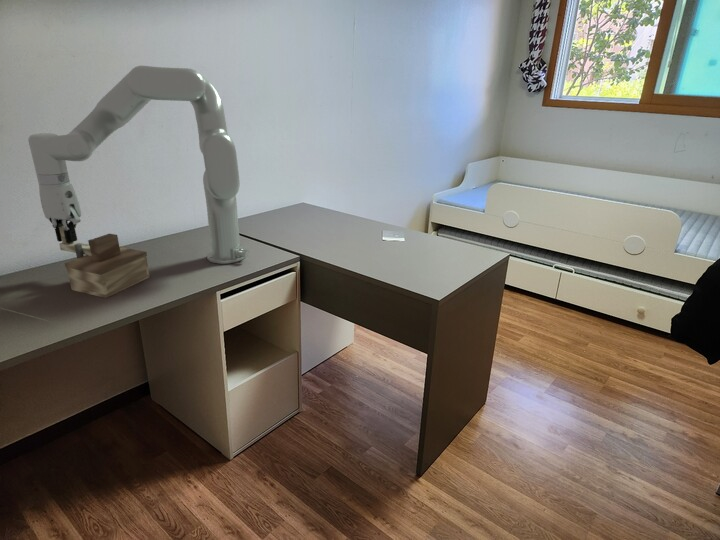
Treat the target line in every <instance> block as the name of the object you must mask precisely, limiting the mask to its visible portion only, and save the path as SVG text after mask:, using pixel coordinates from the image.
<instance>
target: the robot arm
mask: <svg viewBox="0 0 720 540" xmlns="http://www.w3.org/2000/svg"><path fill="white" fill-rule="evenodd" d="M220 96H221V95H220V94H219V93H218V91H217V89H216V88H215V87H214V85H213V84H212V83H211V82H210V80H208V79H207V78H205V77H204V76H203V75H201V73H200V72H198V71H197V70H195V69H193V68H188V67H187V68H185V67H183V68H182V67H166V66H165V67H161V66H152V65H151V66H150V65H138V66H135V67H133V68H131V70H130V71H129V72H127V74H126V75H124V77H122V79H121V80H120V81H119V82H117V84H116V85H114V86H113V87H112V88H111V89H110V90H109V91H107V93H106V94H105V95H104V96H102V97H101V99H100V100H99V101H98V102H97V103H96V105H95V107H94V108H93V109H92V110H91V112H90V113H88V114H87V116H86V117H85V118H84V119H83V120H82V121H80V122H79V123H78V124H77V125H76V126H75V127H74V128H73V129H72V130H71V131H70V132H69V133H67V134H61V135H59V134H56V133H51V132H49V133H47V132H45V133H44V132H43V133H35V134H34V133H33V134H29V136H28V145H29V149H30V154H31V158H32V161H33V167H34V170H35V174H36V179H37V182H38V189H39V191H38V193H39V198H40V205H41V208H42V212H43V215H44V217H45V219H47V220H48V221H49V222H50V223H51V224H52V228H53V229H54V231H55V232H54V233H55V236H56V240H57V242H58V243H59V242H61V243H62V239H61V234H60V230H59V227H61V226H64V228H65V230H64V234H65V239H66V243H71V242H77V241H78V236H77V232H76V227H77V225H78V224H79V223H81V221H82V220H81V219H80V217H81V216H82V211H81V207H80V204H79V203H80V202H79V200H78V196H77V194H76V190H75V189H74V186H73V184H72V183H71V182H70V181H71V180H70V176H69V171H68V168H67V161H68V162H84V161H87V160H88V159H90V157H92V155H93V154H94V153H93V152H94V151H95V150H96V149H97V148H98V147H99V146H100V145H101V144H103V142H105V141H106V140H107V139H108V138H109V137H110V136H111V135H112V134H113V133H115V131H117V130H119V129H120V128H122V127H125V125H127V124H128V123H129V122H130V121H131V120H132V119H133V118H134V117H135V116H136V115H137V114H139V113H140V111H141V110H142V109H143V108H144V107H146V105H147V104H148V103H150V102H151V101H152V100H154V101H155V100H156V101H174V102H175V101H179V102H185V101H186V102H190V104H191V105H192V107H193V110H194V115H195V120H196V125H197V133H198V143H199V145H198V146H199V149H200V152H201V154H202V156H203V162H204V163H203V164H204V168H205V171H204V172H203V177H202V182H203V183H202V184H203V189H204V196H205V203H206V204H205V205H206V212H207V223H208V233H209V241H210V242H209V244H210V252H208V253H207V255H206V258H207V260H208V261H209V263H210V262H211V263H214V264H219V265H220V264H223V265H224V264H233V263H238V262H240V261H242V260H244V259H245V258H248V257H249V253H250V250H249V249H246V248H245V249H244V247H243V246H244V245H243V244H241V242H240V229H239V227H240V226H239V218H238V205H237V204H238V203H237V196H236V195H237V194H238V192H239V190H240V175H239V165H238V157H237V149H236V146H235V143H234V141H233V139H232V137H230V136H229V134H228V133H229V132H228V128H227V121H226V117H225V116H226V115H225V111H224V106H223V102H222V99H221V97H220Z"/></svg>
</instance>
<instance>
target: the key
mask: <svg viewBox="0 0 720 540" xmlns="http://www.w3.org/2000/svg"><path fill="white" fill-rule="evenodd" d="M59 230H60V234H61V239H62V241H61V243H59V242H58V244H59V248H60V249H59V250H61V251H64V252H70V253H73V254H76V251H75V247H74V245H76V244H80V245H81V246H82V250H83V255H84V256H86V255H89V256H92V255H91V250H90V245H89V244H87V243H86V244H85V243H82V242H77V241H74V242H71V243H66V239H65V234H64V230H65V228H64V226H61V227H59Z"/></svg>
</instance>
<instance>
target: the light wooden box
mask: <svg viewBox="0 0 720 540" xmlns="http://www.w3.org/2000/svg"><path fill="white" fill-rule="evenodd" d="M89 240H90V239H88V240H87V242H88V243H89ZM74 247H75V251H76V253H75V254H76V259H78V258H81V257H83V256H85V255H84V254H83V250H82V246H81V245H80V244H76V245H74ZM66 271H67V276H68V280H69V285H70V288H71V291H75V292H79V293H82V294H87V295H90V296H91V295H93V296H96V297H101V298H104V299H107V298H109V297H111V296H113V295H116V294H117V293H120V292H123V290H126V289H128V288H130V287H132V286H134V285H136V284H139V283H141V282H143V281H145V280H147V279H150V271H149V264H148V259H147V256H145V257H143V258H140V259H138V260H135V261H133V262H131V263H128V264H126V265H123V266H121V267H119V268H116V269H114V270H112V271H109V272H107V273H104V274H102V275H99V274H94V273H89V272H85V271H80V270H76V269H71V268H66Z"/></svg>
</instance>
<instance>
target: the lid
mask: <svg viewBox="0 0 720 540" xmlns="http://www.w3.org/2000/svg"><path fill="white" fill-rule="evenodd" d="M88 240H89V242H88V245H90V250H91V255H92V256H89V255H84V256H83V257H81V258H78V259H77V258H76V259H73V260H70V261H67V262H65V263H64V267H65V268H66V269H67V268H71V269H76V270H80V271H85V272H89V273H94V274H99V275H102V274H104V273H107V272H109V271H112V270H114V269H116V268H119V267H121V266H123V265H126V264H128V263H131V262H133V261H135V260H138V259H140V258H143V257H145V256H146V257H147V256H148V253H147V252H148V251H145V250H138V249H134V248H129V247H128V248H127V247H122V246H120V243H119V237H118V234H115V233H105V234H104V235H101V236H98V237H95V238H92V239H88Z"/></svg>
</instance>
